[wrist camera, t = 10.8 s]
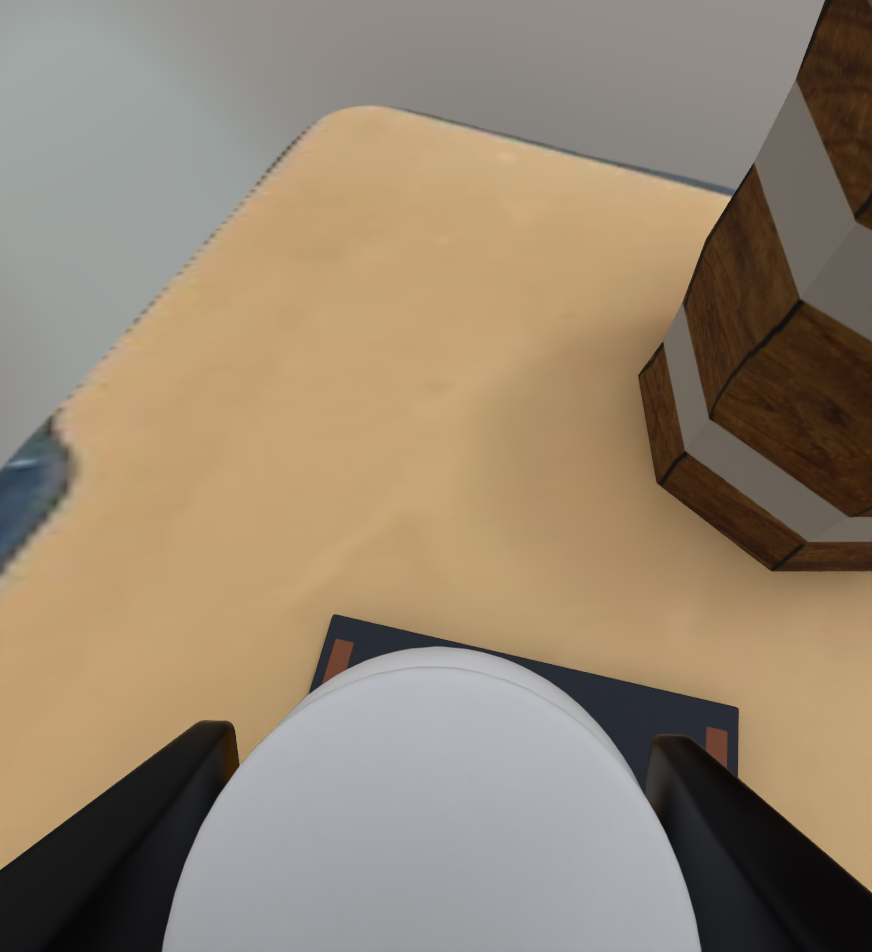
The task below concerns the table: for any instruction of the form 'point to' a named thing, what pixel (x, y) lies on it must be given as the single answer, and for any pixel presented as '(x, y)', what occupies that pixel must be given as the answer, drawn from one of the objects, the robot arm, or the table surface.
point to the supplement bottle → (433, 825)
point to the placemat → (605, 699)
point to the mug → (783, 330)
